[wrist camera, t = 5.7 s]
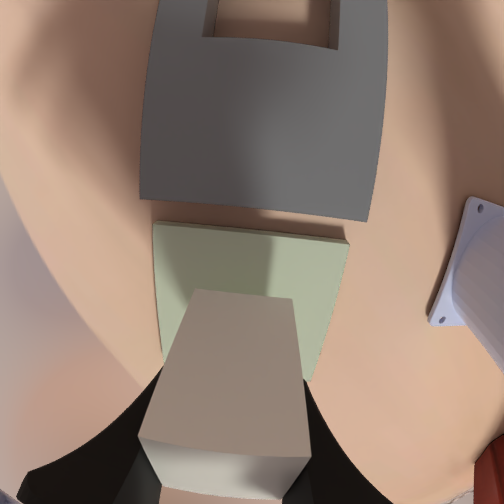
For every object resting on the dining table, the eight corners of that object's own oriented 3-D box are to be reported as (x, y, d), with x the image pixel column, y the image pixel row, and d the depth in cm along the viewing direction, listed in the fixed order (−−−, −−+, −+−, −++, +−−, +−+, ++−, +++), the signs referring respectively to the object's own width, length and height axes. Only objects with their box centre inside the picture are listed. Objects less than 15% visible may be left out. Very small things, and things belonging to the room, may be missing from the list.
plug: (292, 298, 12) (311, 456, 5) (277, 366, 13) (280, 499, 7) (195, 288, 12) (137, 436, 5) (196, 357, 13) (163, 485, 7)
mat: (346, 240, 13) (349, 244, 12) (309, 374, 16) (310, 381, 16) (157, 220, 13) (152, 224, 12) (166, 359, 16) (164, 365, 16)
